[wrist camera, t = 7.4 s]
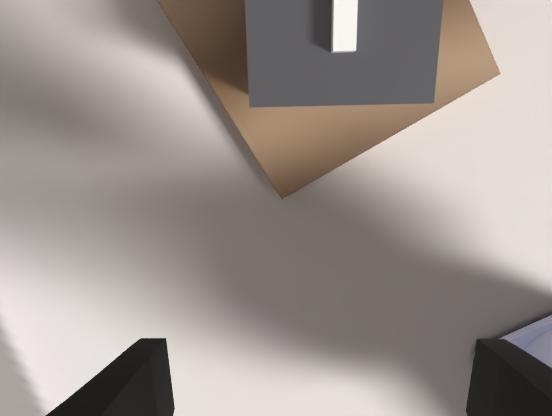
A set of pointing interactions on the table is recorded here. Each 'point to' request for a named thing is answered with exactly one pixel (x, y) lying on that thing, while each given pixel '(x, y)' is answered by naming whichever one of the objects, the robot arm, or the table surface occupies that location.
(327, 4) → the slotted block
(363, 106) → the block
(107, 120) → the table surface
